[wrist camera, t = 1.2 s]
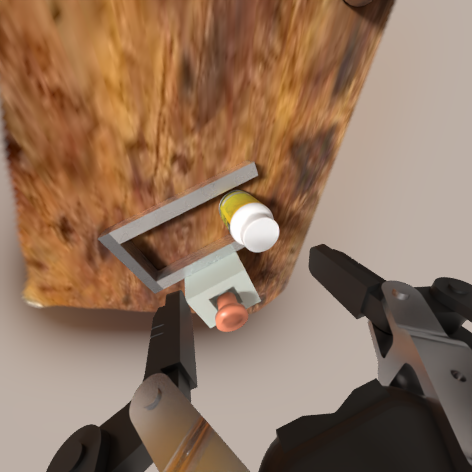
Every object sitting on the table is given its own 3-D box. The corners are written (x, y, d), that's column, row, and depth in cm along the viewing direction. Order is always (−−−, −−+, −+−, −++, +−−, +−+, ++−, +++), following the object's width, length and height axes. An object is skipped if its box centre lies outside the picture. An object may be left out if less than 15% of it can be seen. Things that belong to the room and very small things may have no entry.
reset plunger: (233, 283, 27) (241, 303, 24) (244, 300, 30) (252, 320, 26) (206, 297, 27) (210, 320, 23) (219, 314, 29) (224, 336, 26)
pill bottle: (210, 208, 28) (225, 239, 19) (236, 181, 28) (266, 199, 18) (234, 230, 32) (258, 265, 22) (259, 206, 31) (293, 232, 21)
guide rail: (246, 160, 27) (254, 161, 24) (268, 224, 33) (275, 230, 31) (105, 229, 25) (97, 238, 23) (156, 281, 32) (154, 293, 29)
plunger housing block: (231, 243, 33) (245, 269, 26) (246, 274, 37) (261, 302, 31) (184, 268, 32) (185, 300, 25) (205, 295, 37) (211, 329, 30)
